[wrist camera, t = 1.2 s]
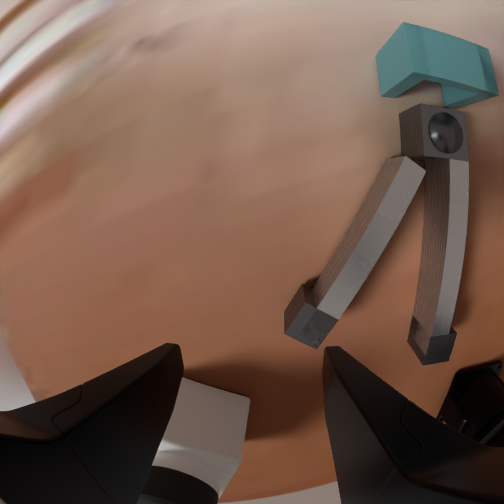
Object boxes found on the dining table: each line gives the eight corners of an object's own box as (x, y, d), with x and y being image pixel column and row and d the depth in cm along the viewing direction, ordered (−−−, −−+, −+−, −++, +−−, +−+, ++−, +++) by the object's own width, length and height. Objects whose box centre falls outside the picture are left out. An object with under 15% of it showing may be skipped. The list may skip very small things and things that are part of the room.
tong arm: (377, 151, 16) (394, 147, 13) (405, 171, 16) (426, 171, 13) (284, 311, 19) (284, 333, 17) (312, 325, 20) (316, 349, 17)
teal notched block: (375, 55, 15) (403, 22, 10) (449, 70, 14) (488, 49, 9) (380, 96, 15) (413, 71, 10) (455, 108, 15) (498, 95, 10)
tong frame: (399, 113, 16) (421, 102, 12) (448, 121, 15) (475, 114, 12) (386, 343, 20) (400, 369, 16) (431, 338, 19) (449, 361, 16)
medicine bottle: (168, 370, 22) (106, 483, 11) (252, 396, 22) (230, 524, 10) (161, 420, 24) (115, 516, 13) (231, 442, 24) (208, 546, 12)
